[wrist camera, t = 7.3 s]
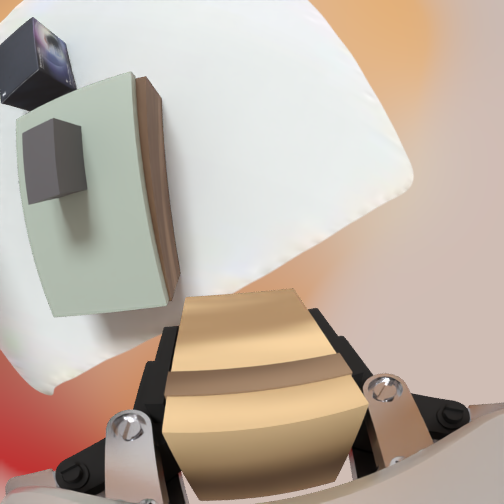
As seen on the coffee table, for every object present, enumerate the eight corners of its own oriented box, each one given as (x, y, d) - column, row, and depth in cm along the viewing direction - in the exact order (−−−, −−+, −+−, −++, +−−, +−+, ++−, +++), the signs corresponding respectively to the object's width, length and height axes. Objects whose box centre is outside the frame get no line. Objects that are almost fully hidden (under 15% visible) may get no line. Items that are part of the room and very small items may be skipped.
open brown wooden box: (85, 283, 32) (59, 308, 24) (63, 123, 26) (30, 115, 18) (180, 273, 33) (171, 301, 26) (161, 98, 27) (146, 76, 20)
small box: (81, 91, 25) (39, 69, 15) (45, 118, 25) (-1, 107, 15) (67, 41, 22) (33, 13, 12) (34, 67, 22) (-5, 48, 12)
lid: (59, 311, 24) (32, 340, 18) (23, 120, 18) (-13, 114, 12) (169, 298, 26) (157, 334, 20) (135, 76, 19) (113, 50, 13)
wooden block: (184, 295, 10) (158, 430, 4) (294, 286, 10) (371, 401, 4) (198, 378, 11) (198, 501, 5) (291, 369, 11) (335, 481, 6)
